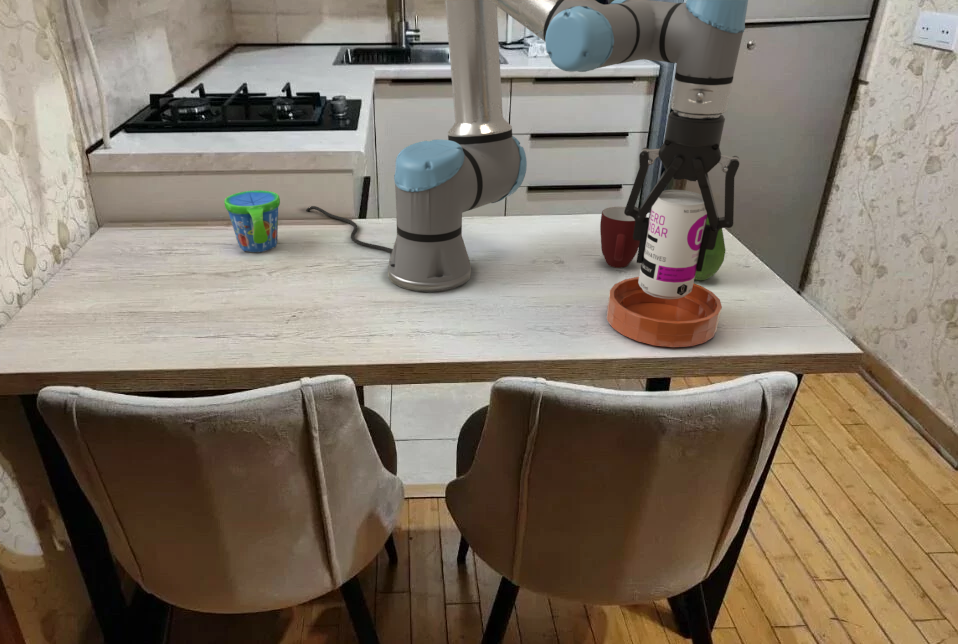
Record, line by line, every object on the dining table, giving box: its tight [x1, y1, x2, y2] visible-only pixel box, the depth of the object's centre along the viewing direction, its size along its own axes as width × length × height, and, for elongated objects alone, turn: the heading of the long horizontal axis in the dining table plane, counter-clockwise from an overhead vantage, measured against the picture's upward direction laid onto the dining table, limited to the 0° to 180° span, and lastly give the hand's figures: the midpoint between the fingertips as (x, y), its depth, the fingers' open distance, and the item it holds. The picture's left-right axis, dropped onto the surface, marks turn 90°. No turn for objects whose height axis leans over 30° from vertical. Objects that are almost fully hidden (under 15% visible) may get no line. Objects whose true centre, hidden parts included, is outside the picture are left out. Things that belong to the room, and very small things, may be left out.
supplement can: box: [638, 189, 707, 299], centre depth 110 cm, size 8×8×15 cm
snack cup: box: [224, 189, 281, 253], centre depth 144 cm, size 16×10×10 cm
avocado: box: [694, 216, 726, 281], centre depth 129 cm, size 8×8×12 cm
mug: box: [599, 206, 648, 269], centre depth 134 cm, size 10×8×10 cm
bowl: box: [606, 276, 723, 348], centre depth 116 cm, size 17×17×4 cm
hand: (669, 263), depth 112 cm, fingers closed on supplement can, 8 cm apart
